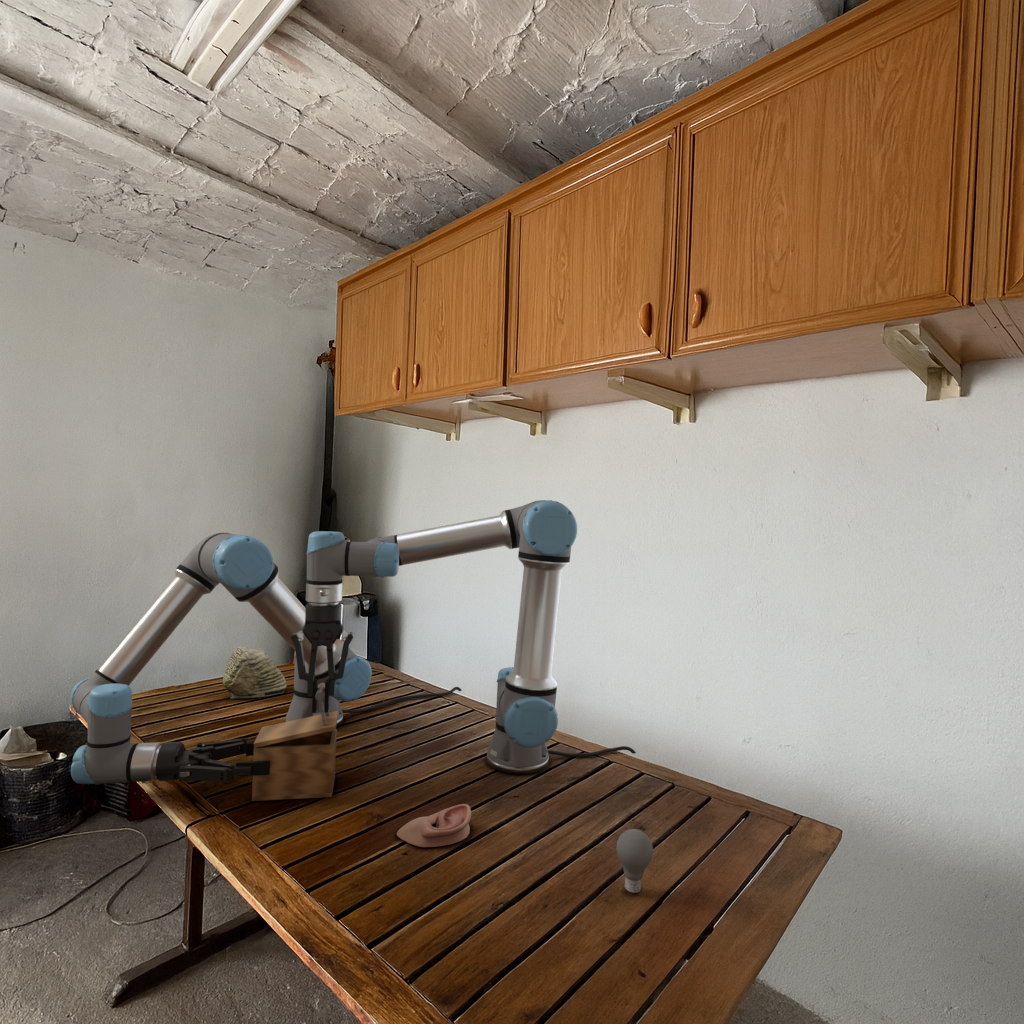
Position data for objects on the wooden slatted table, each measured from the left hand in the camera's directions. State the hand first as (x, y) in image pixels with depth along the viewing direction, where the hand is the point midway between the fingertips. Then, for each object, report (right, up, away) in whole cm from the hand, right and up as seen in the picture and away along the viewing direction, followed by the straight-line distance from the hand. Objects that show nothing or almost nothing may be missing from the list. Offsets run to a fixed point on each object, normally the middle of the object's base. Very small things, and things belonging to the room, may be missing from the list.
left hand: (273, 757), depth 136 cm
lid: (+5, +5, +1) cm, 7 cm away
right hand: (+10, +10, +2) cm, 14 cm away
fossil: (-29, -5, +62) cm, 69 cm away
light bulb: (+71, -11, -30) cm, 78 cm away
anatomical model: (+36, -9, -15) cm, 40 cm away
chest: (+4, -7, +1) cm, 8 cm away
